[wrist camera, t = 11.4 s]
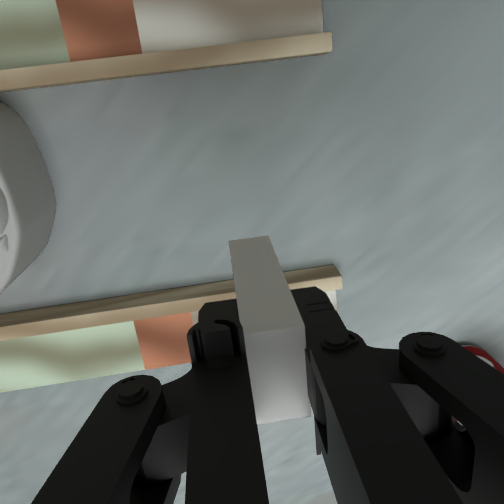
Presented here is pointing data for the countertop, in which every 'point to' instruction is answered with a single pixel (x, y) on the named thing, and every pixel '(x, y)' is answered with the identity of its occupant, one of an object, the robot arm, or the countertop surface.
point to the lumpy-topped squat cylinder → (22, 198)
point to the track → (123, 66)
